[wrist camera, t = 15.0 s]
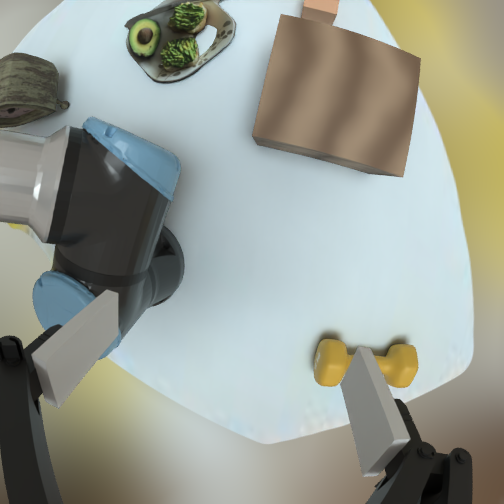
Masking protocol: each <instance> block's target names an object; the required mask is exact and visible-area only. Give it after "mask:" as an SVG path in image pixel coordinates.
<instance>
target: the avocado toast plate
mask: <svg viewBox="0 0 504 504" xmlns="http://www.w3.org/2000/svg"><path fill="white" fill-rule="evenodd" d="M219 1H220V0H165V1H163V2H162V3H161V4H159V5H158V6H156V7H155V8H154V9H153V10H152V11H150V12H147V13H145V14H140V15H138V16H136V17H134V18H132V19H130V20H129V21H127V23H126V25H125V26H124V27H128V28H129V33H128V35H127V39H126V45H127V49H128V51H129V53H130V55H131V56H132V57H133V58H134V60H135V61H136V62H137V63H138V64H139V65H140V66H141V68H142V69H143V70H144V71H145V73H146V74H147V75H148V76H149V77H150V78H151V79H152V80H153V81H155V82H160V83H166V82H175V81H179V80H182V79H184V78H186V77H188V76H190V75H192V74H194V73H195V72H197V71H198V70H199V69H200V67H201V66H202V65H204V64H205V63H206V62H207V61H209V60H210V59H211V58H213V57H214V56H216V55H217V54H218V53H219V52H220V51H221V50H222V49H223V48H225V47H226V46H227V45H228V44H229V43H230V42H231V40H232V38H233V37H234V35H235V28H236V22H235V21H234V19H233V18H232V17H231V16H230V15H229V14H228V13H227V12H226V11H225V10H224V9H222V8H221V7H220V5H219ZM206 25H211V26H213V27H215V28H217V35H216V38H215V40H214V42H213V44H212V45H211V46H210V48H209V49H208V50H207V51H206V52H205V53H204V54H202V55H201V56H200V57H199V52H198V45H197V43H196V40H195V38H196V36H197V34H198V32H199V31H201V30H203V29H204V27H205V26H206ZM161 64H162V65H161Z"/></svg>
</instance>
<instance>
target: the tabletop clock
mask: <svg viewBox="0 0 504 504" xmlns="http://www.w3.org/2000/svg"><path fill="white" fill-rule="evenodd" d="M58 76H59V73H58V71H57V69H56V67H55V66H54V64H53V63H51V62H49V61H47V60H44V59H42V58H39V57H36V56H32V55H29V54H24V53H12V54H9V55H7V56H5V57H3V58H2V59H0V128H7V127H16V126H20V125H23V124H26V123H29V122H31V121H34V120H37V119H39V118H42V117H44V116H47V115H49V114H51V113H53V112H55V110H56V103H57V104H60V105H61V108H62V109H66V108H68V106H69V103H68V101H63V102H61V101H59V100H58V99H56V96H57V85H58Z"/></svg>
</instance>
